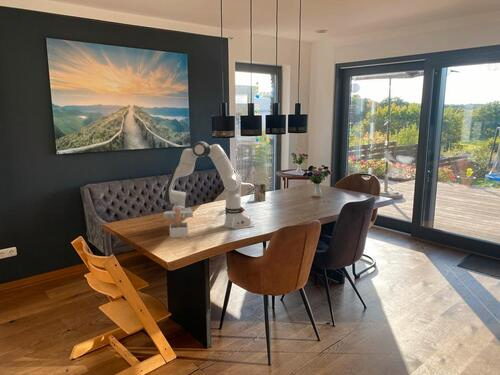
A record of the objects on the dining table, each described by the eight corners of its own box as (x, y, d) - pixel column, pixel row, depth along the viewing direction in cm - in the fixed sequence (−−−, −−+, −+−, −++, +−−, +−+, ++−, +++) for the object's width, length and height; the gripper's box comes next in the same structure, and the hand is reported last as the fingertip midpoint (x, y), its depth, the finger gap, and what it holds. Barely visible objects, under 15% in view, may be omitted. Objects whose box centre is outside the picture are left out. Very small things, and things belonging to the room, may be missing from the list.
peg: (181, 227, 268) (180, 208, 265) (181, 229, 264) (180, 209, 261) (175, 228, 267) (174, 208, 264) (175, 229, 263) (174, 209, 260)
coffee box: (261, 199, 370) (261, 183, 367) (265, 200, 365) (265, 184, 362) (253, 201, 365) (253, 184, 362) (258, 202, 360) (258, 185, 357)
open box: (187, 231, 273) (187, 222, 272) (187, 236, 261) (187, 227, 260) (170, 232, 271) (170, 223, 270) (170, 237, 259) (169, 228, 258)
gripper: (163, 208, 274) (162, 213, 261) (192, 207, 277) (192, 212, 264) (163, 217, 275) (162, 222, 262) (192, 215, 279) (193, 221, 265)
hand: (178, 217), depth 263 cm, fingers closed on peg, 4 cm apart
